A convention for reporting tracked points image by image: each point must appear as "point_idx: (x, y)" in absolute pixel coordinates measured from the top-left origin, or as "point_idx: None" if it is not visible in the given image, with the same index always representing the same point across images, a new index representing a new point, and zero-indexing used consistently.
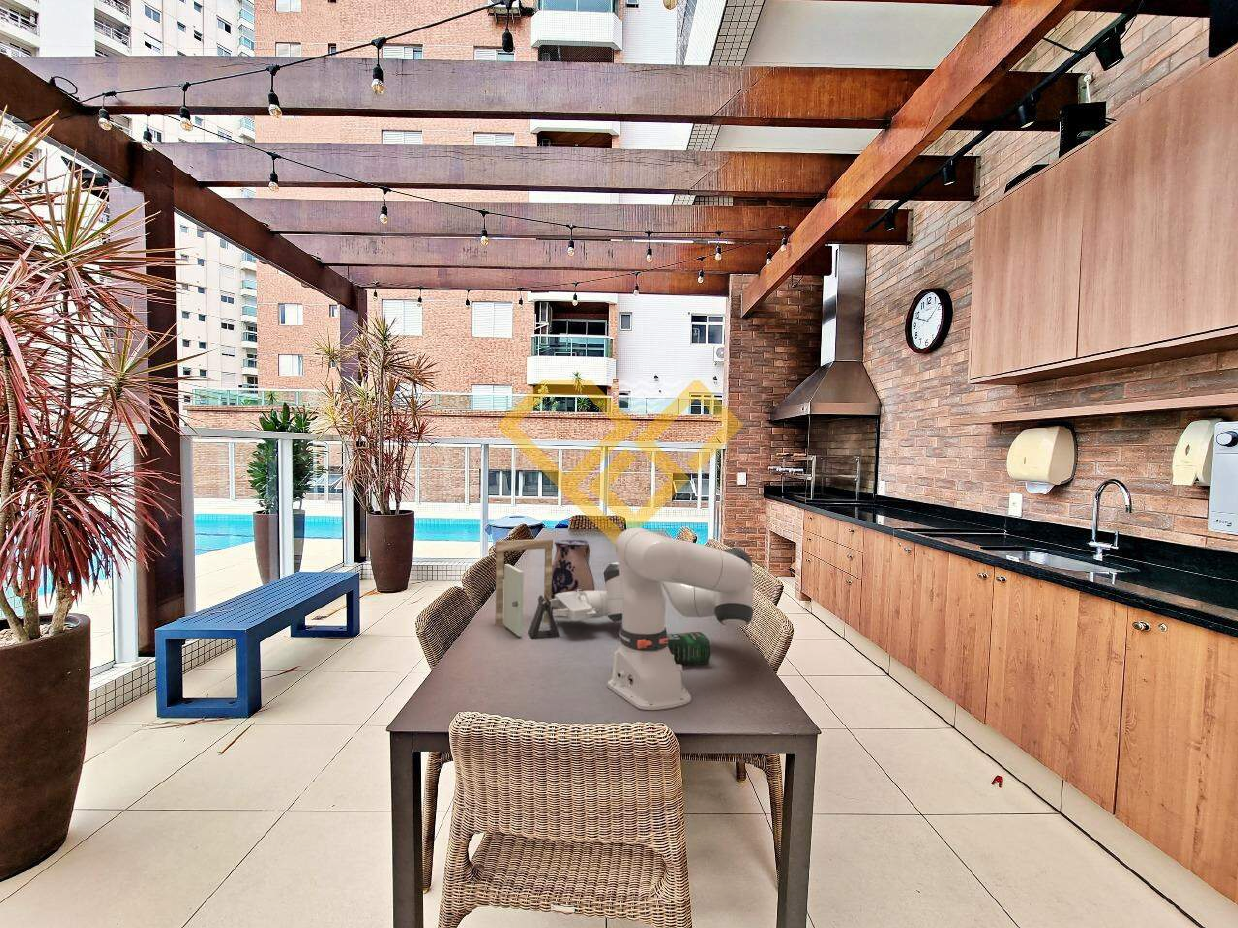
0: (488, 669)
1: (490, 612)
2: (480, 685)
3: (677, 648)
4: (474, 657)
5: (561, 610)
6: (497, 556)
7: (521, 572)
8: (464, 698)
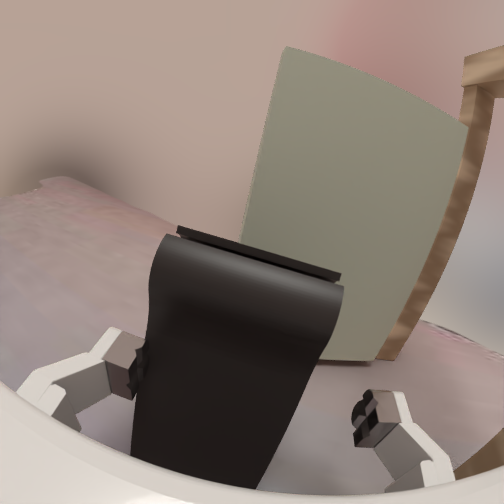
0: (88, 231)
1: (478, 362)
2: (57, 210)
3: None
4: (160, 242)
5: (64, 365)
6: (462, 106)
7: (284, 51)
8: (51, 197)
